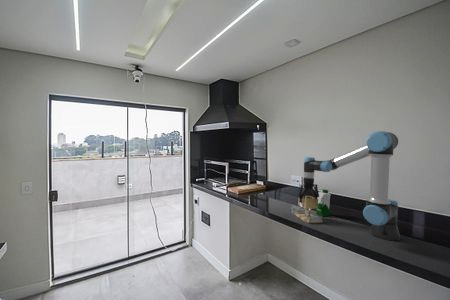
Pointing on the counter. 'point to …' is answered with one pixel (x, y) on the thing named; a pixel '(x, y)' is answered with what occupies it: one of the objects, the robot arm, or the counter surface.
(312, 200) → the gold square frame
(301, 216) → the bench plate
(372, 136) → the robot arm
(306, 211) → the grey metal piece
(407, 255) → the counter surface
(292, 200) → the counter surface
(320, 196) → the milk carton
